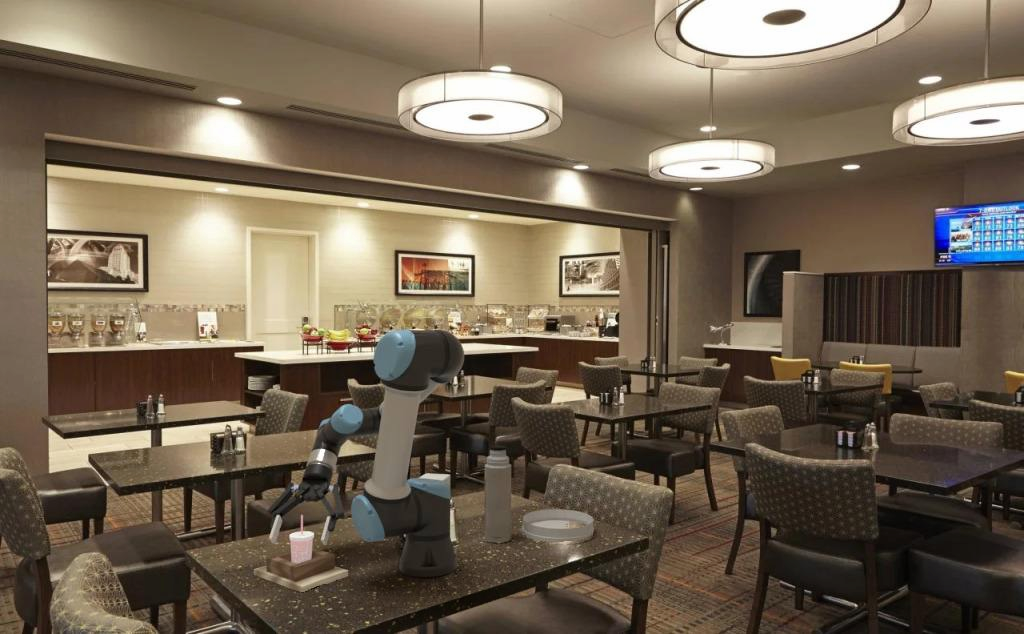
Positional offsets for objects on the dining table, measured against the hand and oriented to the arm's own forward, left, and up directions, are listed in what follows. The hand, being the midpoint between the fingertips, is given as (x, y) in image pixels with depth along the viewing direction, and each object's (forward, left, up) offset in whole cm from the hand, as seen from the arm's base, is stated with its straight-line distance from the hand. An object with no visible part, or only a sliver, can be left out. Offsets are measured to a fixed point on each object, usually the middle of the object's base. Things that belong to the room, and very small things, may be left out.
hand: (297, 541), depth 178 cm
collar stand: (+1, -2, -9) cm, 10 cm away
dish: (-32, -72, -10) cm, 79 cm away
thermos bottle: (-21, -56, -10) cm, 60 cm away
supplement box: (+7, -58, -10) cm, 59 cm away
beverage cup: (+1, -2, -8) cm, 8 cm away
